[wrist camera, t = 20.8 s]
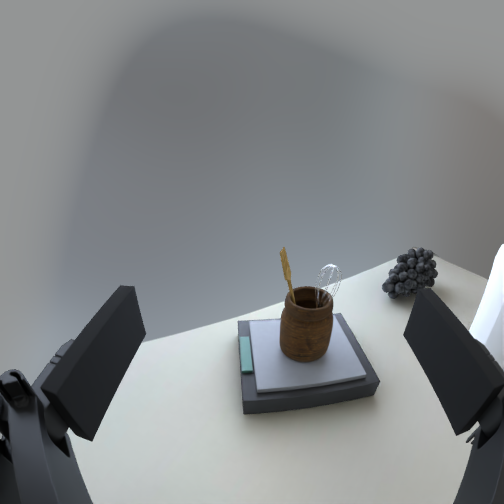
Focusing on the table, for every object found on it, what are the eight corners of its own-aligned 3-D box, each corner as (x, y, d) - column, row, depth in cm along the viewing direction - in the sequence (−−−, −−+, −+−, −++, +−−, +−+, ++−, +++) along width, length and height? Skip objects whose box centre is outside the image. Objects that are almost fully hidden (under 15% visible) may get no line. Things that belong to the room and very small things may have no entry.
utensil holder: (324, 368, 27) (343, 269, 23) (269, 357, 29) (273, 260, 25) (331, 336, 32) (345, 246, 28) (283, 328, 34) (288, 239, 30)
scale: (243, 414, 25) (242, 397, 24) (238, 334, 38) (237, 317, 37) (374, 394, 26) (381, 377, 25) (338, 326, 39) (341, 309, 38)
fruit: (399, 259, 39) (442, 245, 44) (366, 256, 47) (412, 244, 52) (400, 310, 40) (443, 287, 45) (368, 301, 48) (414, 283, 53)
